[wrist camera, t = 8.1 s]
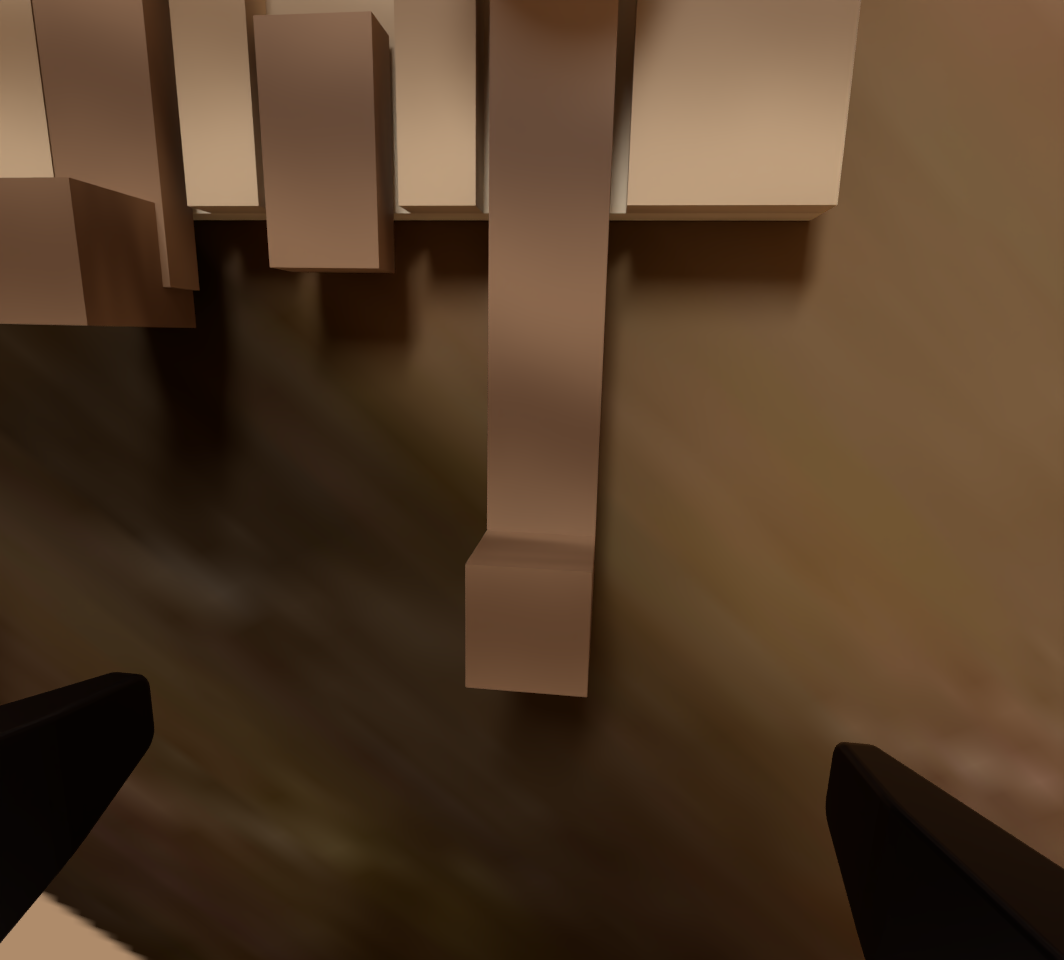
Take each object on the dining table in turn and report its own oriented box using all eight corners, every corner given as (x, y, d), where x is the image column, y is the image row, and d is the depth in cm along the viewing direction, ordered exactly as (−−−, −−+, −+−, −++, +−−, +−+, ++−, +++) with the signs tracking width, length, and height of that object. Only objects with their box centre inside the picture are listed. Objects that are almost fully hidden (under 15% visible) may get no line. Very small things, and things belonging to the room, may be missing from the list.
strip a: (591, 624, 18) (586, 697, 15) (494, 617, 18) (465, 687, 15) (634, -351, 13) (644, -613, 10) (502, -339, 14) (462, -589, 10)
